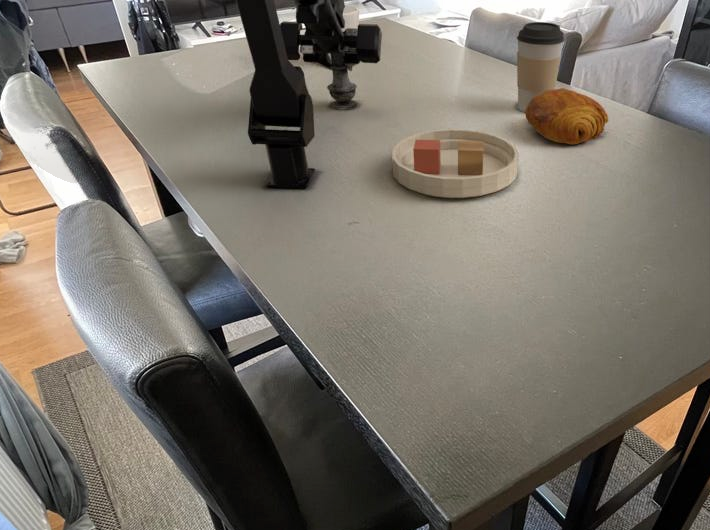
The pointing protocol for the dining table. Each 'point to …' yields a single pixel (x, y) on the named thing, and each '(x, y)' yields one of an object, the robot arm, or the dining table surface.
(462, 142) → the block
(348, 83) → the grey turned piece
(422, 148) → the block
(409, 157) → the round wooden tray
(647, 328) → the dining table surface
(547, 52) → the coffee cup
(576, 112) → the croissant
